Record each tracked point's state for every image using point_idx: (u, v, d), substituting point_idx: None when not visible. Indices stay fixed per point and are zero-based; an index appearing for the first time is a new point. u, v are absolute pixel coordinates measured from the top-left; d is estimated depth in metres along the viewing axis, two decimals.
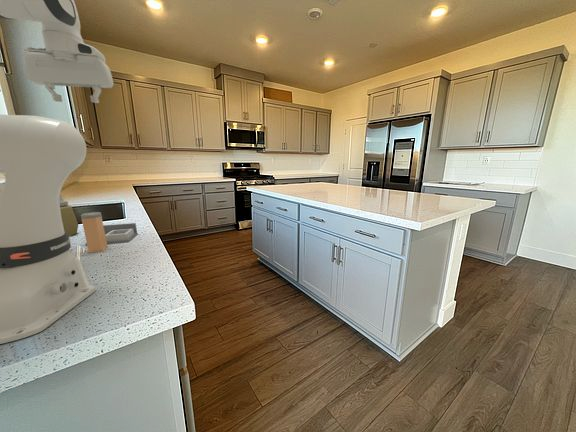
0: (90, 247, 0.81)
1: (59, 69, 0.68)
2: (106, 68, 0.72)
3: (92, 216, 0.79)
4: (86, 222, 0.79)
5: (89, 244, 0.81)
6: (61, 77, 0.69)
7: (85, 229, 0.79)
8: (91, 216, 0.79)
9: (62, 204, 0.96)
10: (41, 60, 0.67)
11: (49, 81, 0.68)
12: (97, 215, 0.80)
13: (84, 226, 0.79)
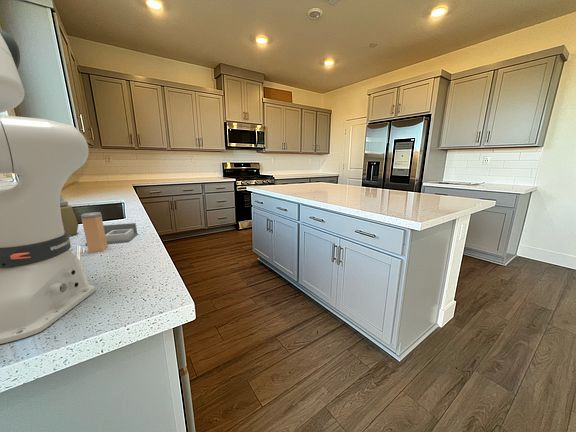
0: (90, 247, 0.81)
1: None
2: None
3: (92, 216, 0.79)
4: (86, 222, 0.79)
5: (89, 244, 0.81)
6: (5, 187, 0.72)
7: (85, 229, 0.79)
8: (91, 216, 0.79)
9: (62, 204, 0.96)
10: None
11: (1, 189, 0.69)
12: (97, 215, 0.80)
13: (84, 226, 0.79)
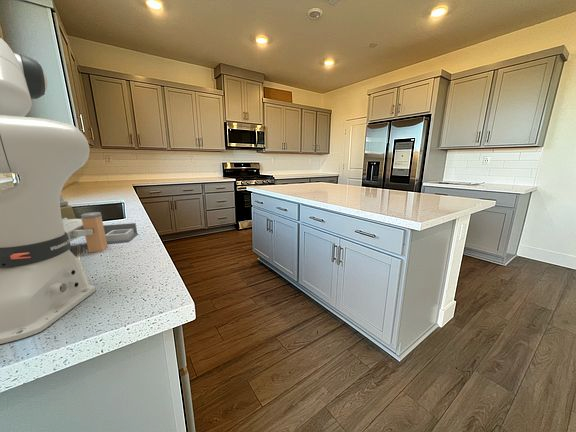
0: (90, 247, 0.81)
1: (64, 227, 0.78)
2: None
3: (92, 216, 0.79)
4: (86, 222, 0.79)
5: (89, 244, 0.81)
6: (72, 227, 0.78)
7: (85, 229, 0.79)
8: (91, 216, 0.79)
9: (62, 204, 0.96)
10: None
11: (70, 230, 0.76)
12: (97, 215, 0.80)
13: (84, 226, 0.79)
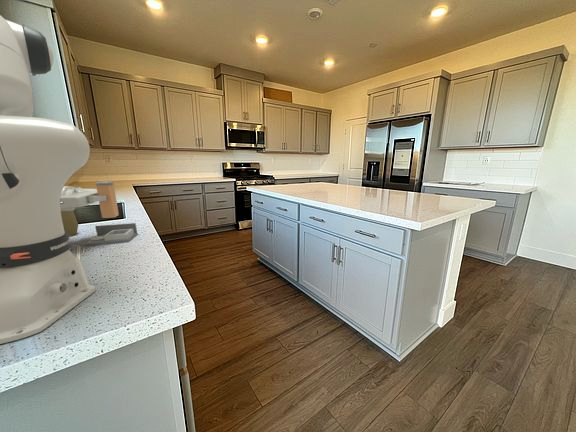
0: (103, 213, 0.88)
1: (80, 193, 0.84)
2: None
3: (106, 184, 0.86)
4: (100, 189, 0.86)
5: (103, 210, 0.87)
6: (87, 193, 0.85)
7: None
8: (105, 183, 0.85)
9: None
10: (67, 195, 0.80)
11: (86, 195, 0.82)
12: (110, 183, 0.87)
13: (98, 193, 0.86)
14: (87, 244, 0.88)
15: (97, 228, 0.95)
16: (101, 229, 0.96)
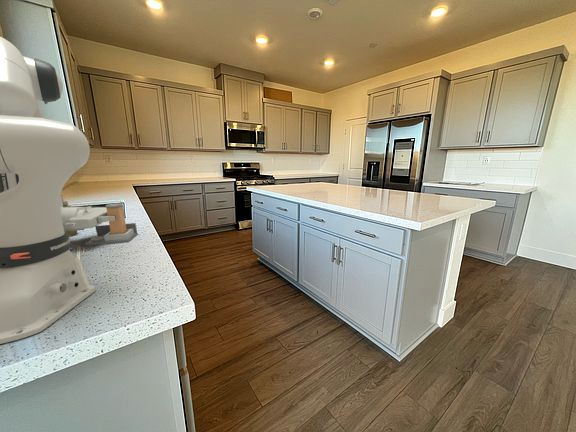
0: None
1: (91, 214, 0.88)
2: None
3: (116, 206, 0.90)
4: (110, 212, 0.90)
5: (112, 231, 0.92)
6: (97, 213, 0.89)
7: None
8: (115, 206, 0.90)
9: None
10: (78, 217, 0.84)
11: (97, 215, 0.86)
12: (120, 205, 0.91)
13: (108, 215, 0.90)
14: (87, 244, 0.88)
15: (97, 228, 0.95)
16: (101, 229, 0.96)
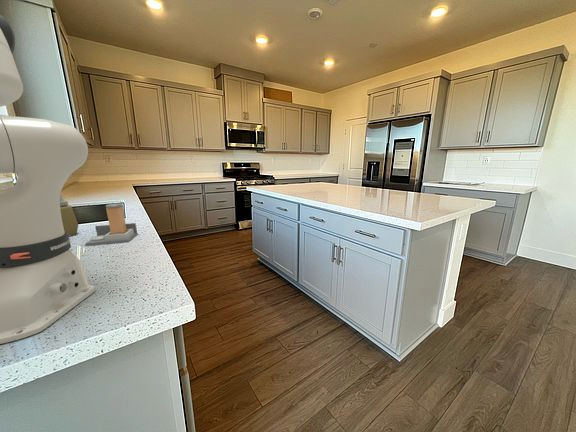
0: None
1: None
2: None
3: (116, 207, 0.90)
4: (110, 212, 0.90)
5: (112, 231, 0.92)
6: None
7: (109, 218, 0.90)
8: (114, 206, 0.90)
9: (62, 204, 0.96)
10: None
11: None
12: (119, 206, 0.91)
13: (108, 215, 0.90)
14: (87, 244, 0.88)
15: (97, 228, 0.95)
16: (101, 229, 0.96)
